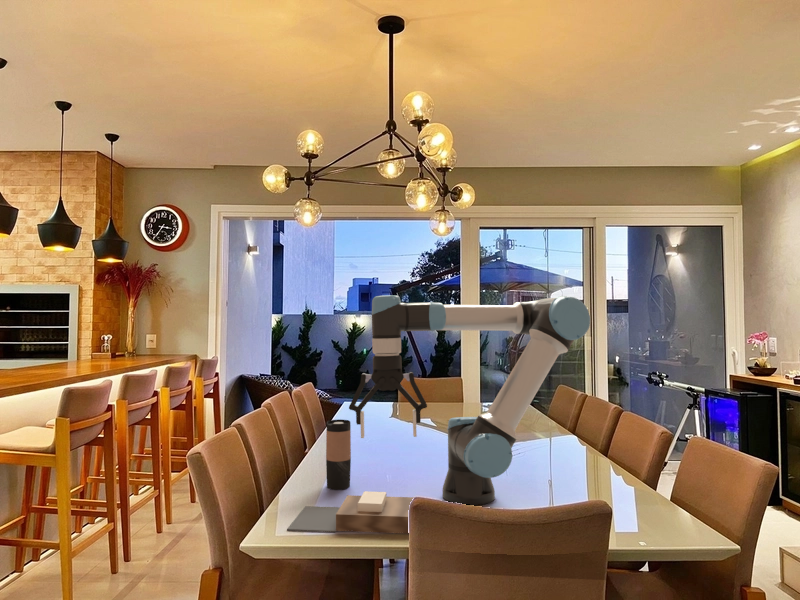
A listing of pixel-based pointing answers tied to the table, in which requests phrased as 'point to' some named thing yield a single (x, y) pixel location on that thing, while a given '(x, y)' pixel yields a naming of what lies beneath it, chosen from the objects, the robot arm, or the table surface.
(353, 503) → the wooden block
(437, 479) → the table surface
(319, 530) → the mat
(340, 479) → the travel mug
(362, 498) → the tile
